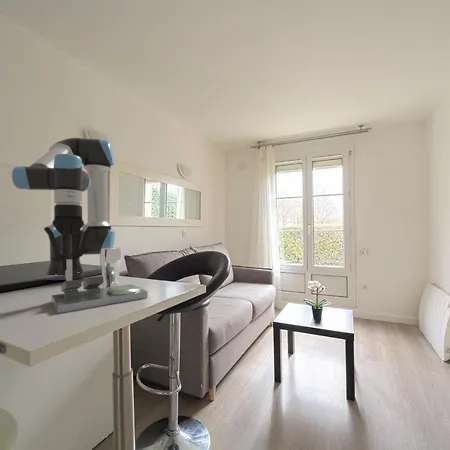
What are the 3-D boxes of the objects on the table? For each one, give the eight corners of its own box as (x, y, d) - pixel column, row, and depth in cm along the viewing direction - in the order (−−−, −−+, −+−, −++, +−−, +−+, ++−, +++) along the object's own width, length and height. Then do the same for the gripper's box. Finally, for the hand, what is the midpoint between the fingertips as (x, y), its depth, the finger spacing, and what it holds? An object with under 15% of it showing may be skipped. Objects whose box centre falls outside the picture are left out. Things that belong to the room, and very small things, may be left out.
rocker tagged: (61, 291, 81) (61, 284, 82) (76, 289, 84) (75, 282, 84) (65, 288, 75) (65, 280, 75) (81, 286, 77) (81, 278, 78)
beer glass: (108, 287, 100) (108, 247, 100) (125, 288, 99) (124, 247, 99) (95, 291, 93) (95, 248, 94) (113, 292, 92) (113, 248, 92)
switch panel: (51, 301, 81) (51, 290, 81) (131, 289, 95) (131, 280, 96) (57, 313, 69) (57, 300, 69) (147, 297, 84) (147, 286, 84)
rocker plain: (83, 289, 85) (83, 283, 86) (97, 287, 88) (96, 281, 88) (89, 284, 78) (88, 277, 79) (103, 282, 81) (103, 276, 81)
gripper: (44, 202, 76) (44, 285, 76) (94, 204, 84) (94, 279, 84) (42, 204, 82) (42, 281, 82) (88, 206, 90) (89, 276, 90)
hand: (68, 280), depth 83 cm, fingers closed
